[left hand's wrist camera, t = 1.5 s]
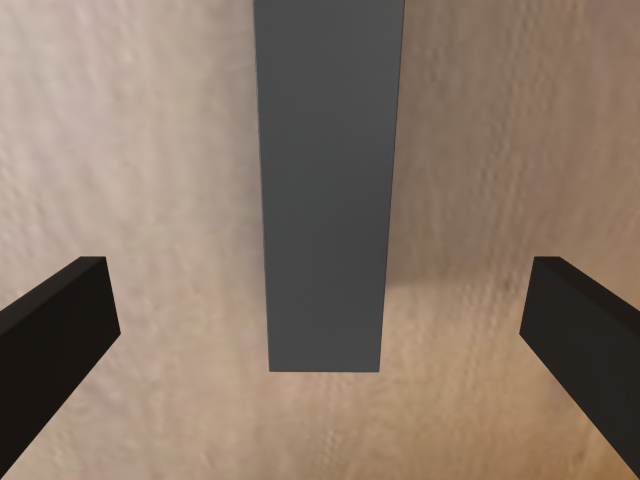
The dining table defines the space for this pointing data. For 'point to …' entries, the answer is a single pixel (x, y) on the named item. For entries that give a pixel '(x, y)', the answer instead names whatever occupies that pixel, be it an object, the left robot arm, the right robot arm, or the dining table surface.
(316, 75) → the plank
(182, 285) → the dining table surface
